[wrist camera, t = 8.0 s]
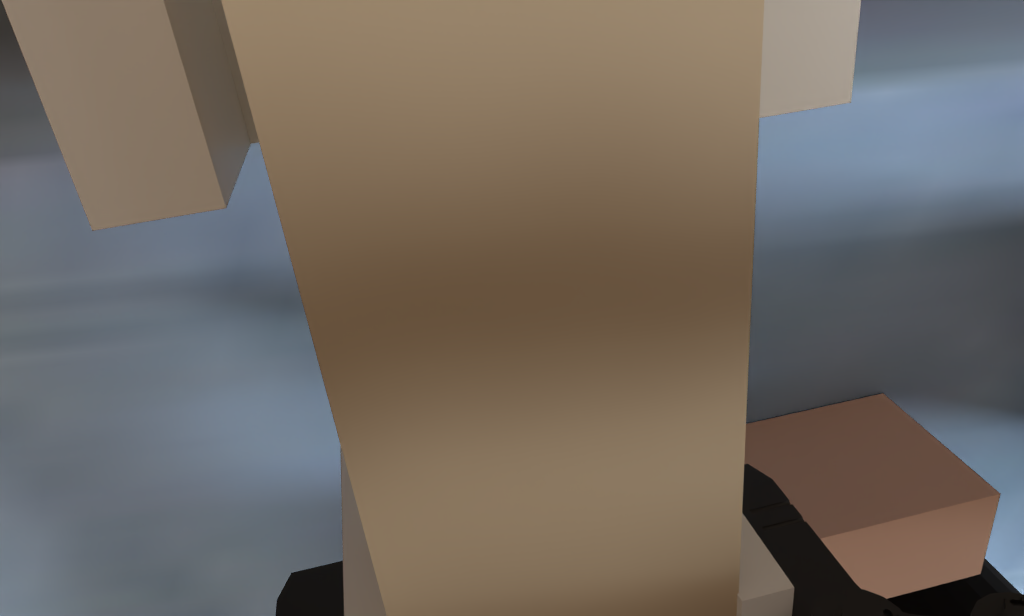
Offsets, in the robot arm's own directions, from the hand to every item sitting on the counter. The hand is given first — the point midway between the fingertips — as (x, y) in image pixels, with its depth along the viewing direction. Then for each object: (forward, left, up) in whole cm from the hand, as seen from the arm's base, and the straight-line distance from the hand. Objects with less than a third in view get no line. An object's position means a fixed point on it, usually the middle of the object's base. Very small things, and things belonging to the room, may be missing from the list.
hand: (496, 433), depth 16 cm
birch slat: (0, 0, +3) cm, 3 cm away
